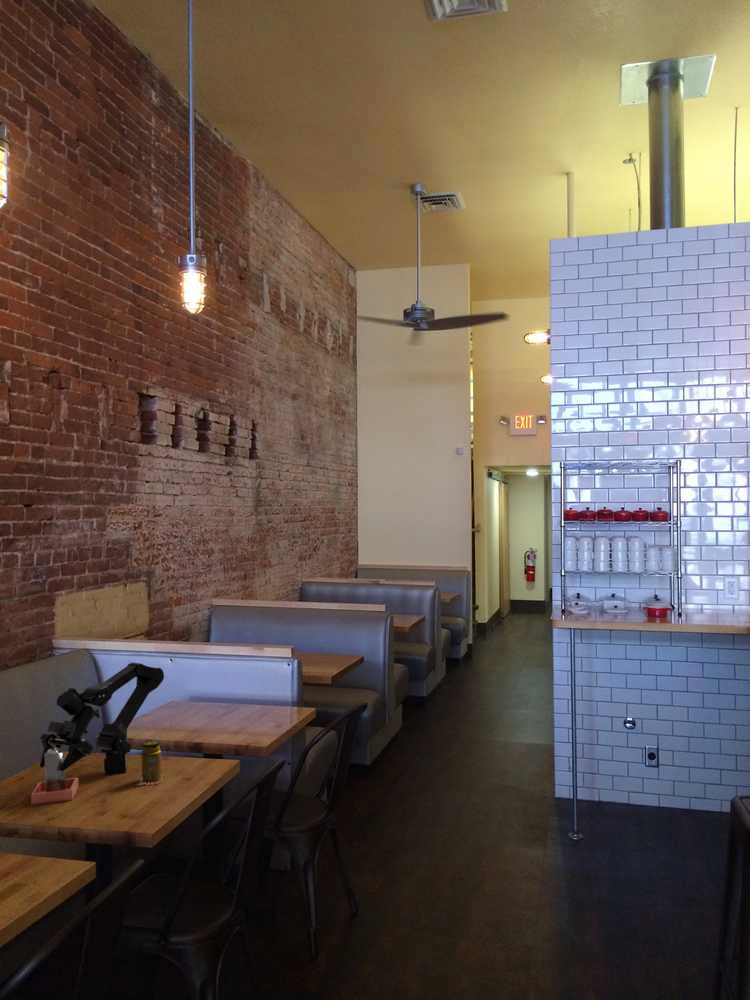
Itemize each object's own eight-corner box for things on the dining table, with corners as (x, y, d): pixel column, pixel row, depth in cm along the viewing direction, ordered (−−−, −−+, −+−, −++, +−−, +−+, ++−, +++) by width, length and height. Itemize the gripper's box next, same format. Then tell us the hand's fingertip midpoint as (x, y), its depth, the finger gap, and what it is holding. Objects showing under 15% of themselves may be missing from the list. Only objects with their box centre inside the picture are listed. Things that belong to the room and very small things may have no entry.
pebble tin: (69, 790, 242) (67, 746, 243) (57, 797, 237) (56, 751, 237) (54, 789, 244) (52, 745, 244) (41, 796, 239) (40, 751, 239)
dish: (78, 787, 247) (78, 777, 247) (72, 800, 236) (72, 790, 236) (39, 791, 245) (39, 781, 245) (31, 804, 234) (31, 794, 234)
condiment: (165, 775, 255) (164, 739, 255) (159, 785, 246) (157, 746, 246) (143, 777, 254) (141, 740, 255) (135, 786, 246) (134, 748, 246)
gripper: (43, 707, 249) (13, 752, 239) (83, 712, 240) (54, 759, 230) (65, 725, 256) (37, 769, 246) (105, 731, 246) (77, 777, 237)
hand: (50, 768), depth 239 cm, fingers open, 9 cm apart
